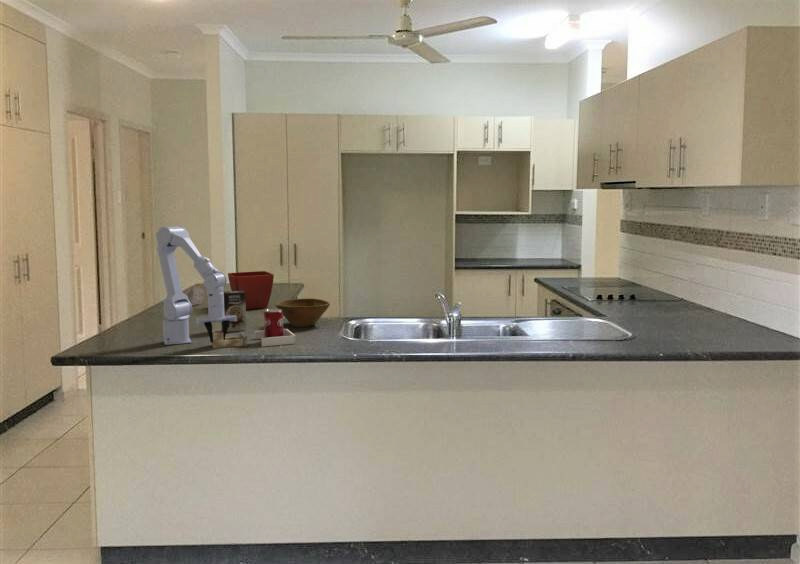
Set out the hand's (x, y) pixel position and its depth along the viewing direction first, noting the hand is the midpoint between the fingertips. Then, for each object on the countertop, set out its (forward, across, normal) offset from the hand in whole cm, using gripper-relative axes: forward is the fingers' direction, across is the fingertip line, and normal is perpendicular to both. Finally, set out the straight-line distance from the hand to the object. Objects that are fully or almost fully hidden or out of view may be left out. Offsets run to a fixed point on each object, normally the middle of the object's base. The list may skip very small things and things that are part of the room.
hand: (217, 341), depth 253 cm
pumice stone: (+2, +1, +102) cm, 102 cm away
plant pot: (+2, +28, +83) cm, 87 cm away
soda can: (+2, +21, 0) cm, 21 cm away
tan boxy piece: (+2, +4, 0) cm, 4 cm away
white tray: (+2, +21, 0) cm, 21 cm away
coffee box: (+2, +10, +28) cm, 30 cm away
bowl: (+2, +40, +27) cm, 48 cm away
